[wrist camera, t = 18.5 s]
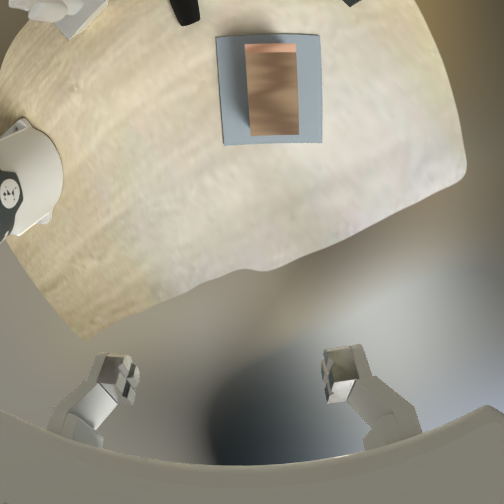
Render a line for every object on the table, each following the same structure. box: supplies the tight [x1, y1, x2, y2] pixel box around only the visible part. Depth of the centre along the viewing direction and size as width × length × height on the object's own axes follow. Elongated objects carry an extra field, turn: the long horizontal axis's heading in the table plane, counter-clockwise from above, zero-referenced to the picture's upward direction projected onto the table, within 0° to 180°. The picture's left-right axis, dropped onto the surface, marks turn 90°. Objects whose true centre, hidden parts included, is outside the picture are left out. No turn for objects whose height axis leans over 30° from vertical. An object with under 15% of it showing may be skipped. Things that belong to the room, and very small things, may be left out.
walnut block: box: [245, 43, 299, 136], centre depth 26 cm, size 5×5×10 cm
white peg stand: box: [9, 0, 108, 41], centre depth 14 cm, size 7×9×15 cm
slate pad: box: [216, 34, 322, 146], centre depth 28 cm, size 12×14×1 cm
